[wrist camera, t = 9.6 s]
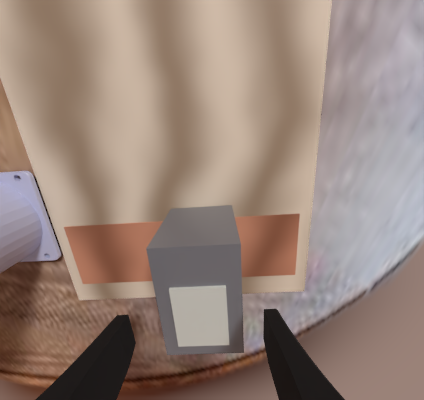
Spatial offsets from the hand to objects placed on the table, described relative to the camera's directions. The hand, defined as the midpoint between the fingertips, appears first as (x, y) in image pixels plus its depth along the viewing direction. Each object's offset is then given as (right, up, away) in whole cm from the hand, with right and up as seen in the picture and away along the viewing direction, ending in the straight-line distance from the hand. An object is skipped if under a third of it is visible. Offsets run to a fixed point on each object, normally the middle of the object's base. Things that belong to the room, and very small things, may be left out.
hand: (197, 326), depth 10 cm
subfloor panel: (-2, +9, +5) cm, 10 cm away
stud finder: (0, +2, +7) cm, 7 cm away
